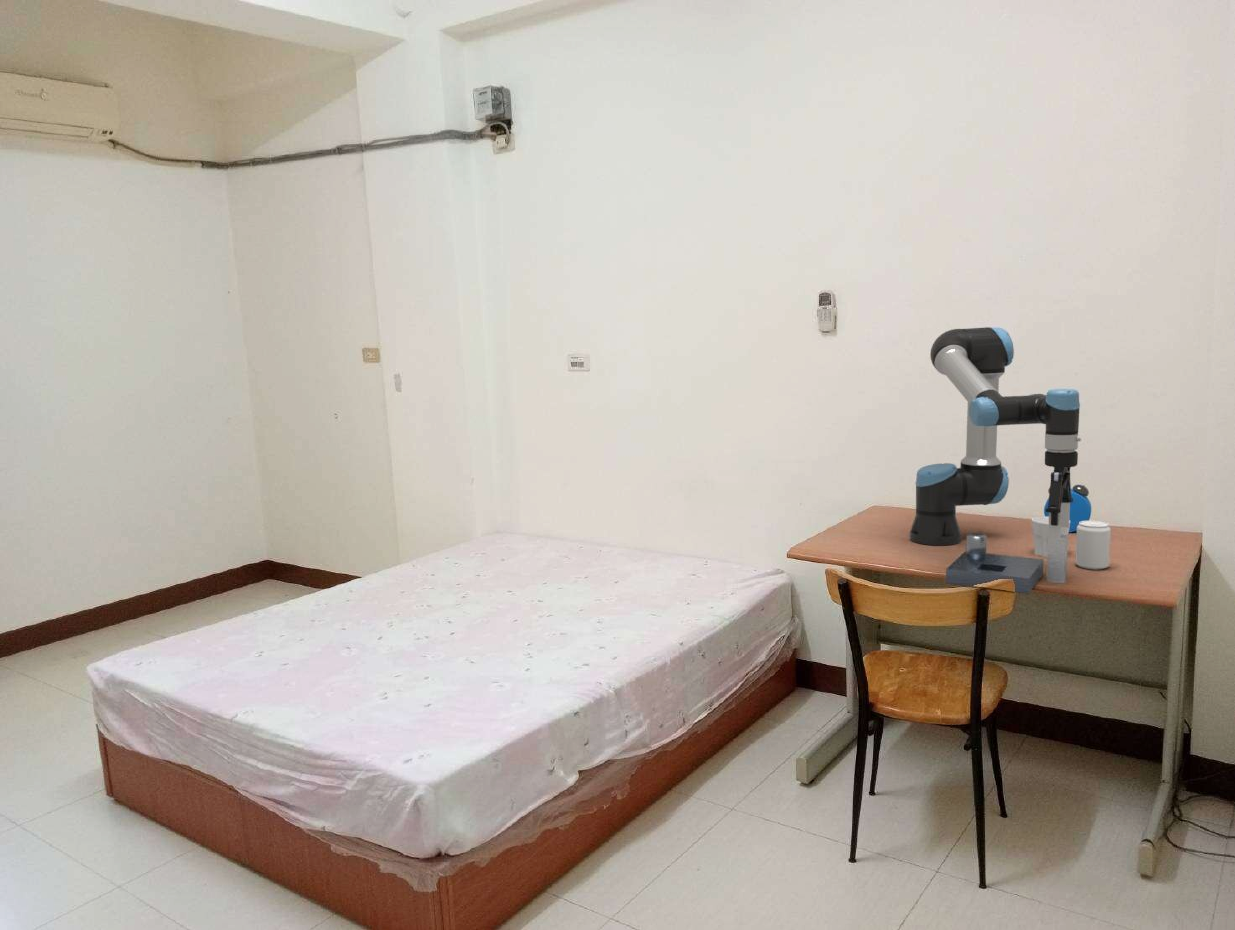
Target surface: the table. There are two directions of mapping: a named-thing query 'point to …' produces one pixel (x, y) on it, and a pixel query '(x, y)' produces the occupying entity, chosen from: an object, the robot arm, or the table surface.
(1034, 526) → the cup
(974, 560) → the slotted metal base
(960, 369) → the robot arm
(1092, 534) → the beverage can
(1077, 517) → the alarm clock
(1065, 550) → the grey square peg
